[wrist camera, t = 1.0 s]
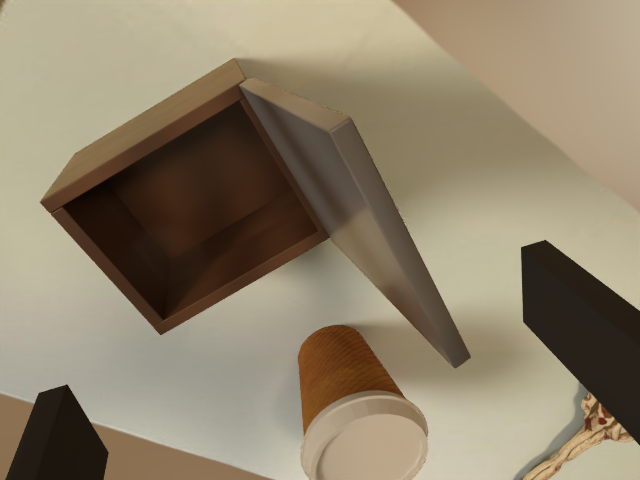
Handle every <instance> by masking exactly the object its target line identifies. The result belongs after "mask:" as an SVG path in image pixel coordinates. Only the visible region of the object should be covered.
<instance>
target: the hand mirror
mask: <svg viewBox="0 0 640 480" xmlns="http://www.w3.org/2000/svg"><path fill="white" fill-rule="evenodd" d="M581 408H582V409H583V410H584V411H585V413H584V420H585V425H584V426H583V428H582V429H581V430H580V431H579V432H578V433H577V434H576V435H575V436H574V437H573V438H571V439H570V440H569V441H568V442H567V443H566V444H565V445H564V446H562V447H561V449H560V451H559V453H558V454H557V455H556V456H555V457H554V458H552V459H550V460H547V461H544V462H543V463H541V464H540V465H538V466H537V467H536V468H534V469H533V470H532V471H530V472H529V473H528V474H527V475H525V476H524V478H523V479H522V480H548V479H549V478H550V477H551V476H553V475H554V474H556V473H557V472H558V471H559V470H560V468H561V465H562V464H563V463H564V462H566V461H569V460H572V459H574V458H576V457H577V456H578V455H579V454H581V453H582V452H583V451H585V450H587V449H588V448H590V447H593V446H595V445H597V444H599V443H601V442H602V441H603V440H607V439H611V440H613V441H618V442H628V441H632V440H634V439H633V438H632V437H631V436H630V434H629V433H628V432H627V431H626V430H625V429H624V428H623V427H622V426H621V425H620V424H619V423H618V422H617V421H616V420H615V419H614V418H613V416H612V415H611V414H610V413H609V412H608V411H607V410H606V409H605V408H604V407H603V406H602V405H601V404H600V403H599V402H598V401H597V399H596V398H595V397H594V396H593V395H592V394H591V393H590V392H588V395H587V396H586V397H584V398H583V400H582V403H581Z"/></svg>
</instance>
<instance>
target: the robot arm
mask: <svg viewBox="0 0 640 480" xmlns="http://www.w3.org/2000/svg"><path fill="white" fill-rule="evenodd" d="M521 262H522V295H523V322H524V323H525V324H526V325H527V326H528V327H529V328H530V330H531V331H532V332H533V333H534V334H535V335H536V336H537V337H538V338H539V339H540V340H541V341H542V342H543V343H544V344H545V345H546V347H547V348H548V349H549V350H550V351H551V352H552V353H553V354H554V355H555V356H556V357H557V358H558V359H559V360H560V361H561V362H562V363H563V365H564V366H565V367H566V368H567V369H568V370H569V371H570V372H571V373H572V374H573V375H574V376H575V377H576V378H577V379H578V380H579V381H580V383H581V384H582V385H583V386H584V387H585V388H586V389H587V390H588V391H589V392H590V393H591V394H592V395H593V396H594V397H595V398H596V399H597V401H598V402H599V403H600V404H601V405H602V406H603V407H604V408H605V409H606V410H607V411H608V412H609V413H610V414H611V415H612V416H613V418H614V419H615V420H616V421H617V422H618V423H619V424H620V425H621V426H622V427H623V428H624V429H625V430H626V431H627V432H628V433H629V434H630V436H631V437H632V438H633V439H634V440H635V441H636V442H637V443H638V444H639V445H640V311H639V310H638V309H636V308H635V307H634V306H632V305H631V304H630V303H628V302H627V301H626V300H624V299H623V298H622V297H620V296H619V295H618V294H616V293H615V292H614V291H613V290H611V289H610V288H609V287H607V286H606V285H605V284H603V283H602V282H601V281H599V280H598V279H597V278H595V277H594V276H593V275H591V274H590V273H589V272H587V271H586V270H585V269H583V268H582V267H581V266H579V265H578V264H577V263H575V262H574V261H573V260H571V259H570V258H569V257H568V256H566V255H565V254H564V253H562V252H561V251H560V250H558V249H557V248H556V247H554V246H553V245H552V244H550V243H549V242H548V241H546V240H544V241H540V242H537V243H534V244H530V245H527V246H524V247H521ZM107 458H108V451H107V449H106V448H105V446H104V444H103V443H102V441H101V439H100V438H99V436H98V434H97V433H96V431H95V429H94V428H93V426H92V424H91V423H90V421H89V419H88V418H87V416H86V414H85V413H84V411H83V409H82V408H81V406H80V404H79V403H78V401H77V399H76V398H75V396H74V394H73V393H72V391H71V389H70V388H69V386H68V385H64V386H60V387H57V388H54V389H50V390H47V391H44V392H41V393H39V394H38V396H37V399H36V402H35V404H34V407H33V409H32V412H31V415H30V417H29V420H28V422H27V425H26V428H25V430H24V433H23V435H22V438H21V441H20V443H19V446H18V448H17V451H16V454H15V456H14V459H13V461H12V464H11V467H10V469H9V472H8V475H7V477H6V480H103V479H104V474H105V469H106V463H107Z"/></svg>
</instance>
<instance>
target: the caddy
mask: <svg viewBox="0 0 640 480" xmlns="http://www.w3.org/2000/svg"><path fill="white" fill-rule="evenodd" d="M246 80H247V78H246V76H245V75H244V73H243V71H242V70H241V68H240V66H239V64H238V63H237V61H236V59H235V58H233V59H231V60H230V61H228V62H226V63H225V64H223V65H221V66H220V67H218V68H216V69H215V70H213V71H211V72H210V73H208V74H206V75H205V76H203V77H201V78H200V79H198V80H196V81H195V82H193V83H191V84H190V85H188V86H186V87H185V88H183V89H181V90H180V91H178V92H176V93H175V94H173V95H171V96H170V97H168V98H167V99H165V100H163V101H162V102H160V103H158V104H157V105H155V106H153V107H152V108H150V109H148V110H147V111H145V112H143V113H142V114H140V115H138V116H137V117H135V118H133V119H132V120H130V121H128V122H127V123H125V124H123V125H122V126H120V127H118V128H117V129H115V130H113V131H112V132H110V133H108V134H107V135H105V136H103V137H102V138H100V139H98V140H97V141H95V142H93V143H92V144H90V145H88V146H87V147H85V148H84V149H82V150H80V151H79V152H77V153H75V154H74V156H73V157H72V158H71V160H70V161H69V162H68V164H67V165H66V167H65V168H64V169H63V171H62V172H61V174H60V175H59V176H58V178H57V179H56V180H55V182H54V183H53V185H52V186H51V187H50V189H49V190H48V191H47V193H46V194H45V196H44V197H43V198H42V200H41V201H40V203H41V204H42V205H43V206H44V207H45V209H46V210H47V211H48V212H49V213H51V215H52V216H53V217H54V218H55V219H56V221H57V222H58V223H59V224H60V225H61V226H62V227H63V228H64V229H65V230H66V232H67V233H68V234H69V235H70V236H71V237H72V238H73V239H74V240H75V241H76V243H77V244H78V245H79V246H80V247H81V248H82V249H83V250H84V251H85V252H86V254H87V255H88V256H89V257H90V258H91V259H92V260H93V261H94V262H95V263H96V265H97V266H98V267H99V268H100V269H101V270H102V271H103V272H104V273H105V274H106V275H107V277H108V278H109V279H110V280H111V281H112V282H113V283H114V284H115V285H116V286H117V288H118V289H119V290H120V291H121V292H122V293H123V294H124V295H125V296H126V297H127V299H128V300H129V301H130V302H131V303H132V304H133V305H134V306H135V307H136V308H137V310H138V311H139V312H140V313H141V314H142V315H143V316H144V317H145V318H146V319H147V321H148V322H149V323H150V324H151V325H152V326H153V327H154V329H155V330H156V331H157V332H158V333H159V334H160V335H162V334H164V333H166V332H167V331H169V330H171V329H173V328H174V327H176V326H178V325H179V324H181V323H183V322H185V321H186V320H188V319H190V318H192V317H193V316H195V315H197V314H199V313H200V312H202V311H204V310H205V309H207V308H209V307H211V306H212V305H214V304H216V303H218V302H219V301H221V300H223V299H225V298H226V297H228V296H230V295H231V294H233V293H235V292H237V291H238V290H240V289H242V288H244V287H245V286H247V285H249V284H251V283H252V282H254V281H256V280H257V279H259V278H261V277H263V276H264V275H266V274H268V273H270V272H271V271H273V270H275V269H277V268H278V267H280V266H282V265H283V264H285V263H287V262H289V261H290V260H292V259H294V258H296V257H297V256H299V255H301V254H303V253H304V252H306V251H308V250H309V249H311V248H313V247H315V246H316V245H318V244H320V243H322V242H323V241H325V240H327V239H329V238H330V237H329V235H328V233H327V232H326V230H325V228H324V227H323V225H322V223H321V222H320V220H319V218H318V217H317V215H316V213H315V212H314V210H313V208H312V207H311V205H310V203H309V202H308V200H307V198H306V197H305V195H304V193H303V192H302V190H301V188H300V187H299V185H298V183H297V182H296V180H295V178H294V177H293V175H292V173H291V172H290V170H289V168H288V167H287V165H286V163H285V162H284V160H283V158H282V157H281V155H280V153H279V152H278V150H277V148H276V147H275V145H274V143H273V142H272V140H271V138H270V137H269V135H268V133H267V132H266V130H265V128H264V127H263V125H262V123H261V122H260V120H259V118H258V117H257V115H256V113H255V112H254V110H253V108H252V107H251V105H250V103H249V101H248V100H247V98H246V96H245V95H244V93H243V91H242V90H241V88H240V86H239V85H240V84H241V83H243V82H244V81H246Z"/></svg>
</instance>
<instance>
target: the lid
mask: <svg viewBox="0 0 640 480" xmlns="http://www.w3.org/2000/svg"><path fill="white" fill-rule="evenodd" d="M239 86H240V88H241V90H242V91H243V93H244V95H245V96H246V98H247V100H248V101H249V103H250V105H251V107H252V108H253V110H254V112H255V113H256V115H257V117H258V118H259V120H260V122H261V123H262V125H263V127H264V128H265V130H266V132H267V133H268V135H269V137H270V138H271V140H272V142H273V143H274V145H275V147H276V148H277V150H278V152H279V153H280V155H281V157H282V158H283V160H284V162H285V163H286V165H287V167H288V168H289V170H290V172H291V173H292V175H293V177H294V178H295V180H296V182H297V183H298V185H299V187H300V188H301V190H302V192H303V193H304V195H305V197H306V198H307V200H308V202H309V203H310V205H311V207H312V208H313V210H314V212H315V213H316V215H317V217H318V218H319V220H320V222H321V223H322V225H323V227H324V228H325V230H326V232H327V233H328V235H329V237H330V238H331V240H332V241H333V242H334V244H335V245H336V246H337V247H338V248H339V249H340V250H341V251H342V252H343V253H344V254H345V255H346V256H347V257H348V258H349V259H350V260H351V261H352V262H353V263H354V264H355V265H356V266H357V267H358V269H359V270H360V271H361V272H362V273H363V274H364V275H365V276H366V277H367V278H368V279H369V280H370V281H371V282H372V283H373V284H374V285H375V286H376V287H377V288H378V289H379V290H380V291H381V292H382V294H383V295H384V296H385V297H386V298H387V299H388V300H389V301H390V302H391V303H392V304H393V305H394V306H395V307H396V308H397V309H398V310H399V311H400V312H401V313H402V314H403V315H404V316H405V318H406V319H407V320H408V321H409V322H410V323H411V324H412V325H413V326H414V327H415V328H416V329H417V330H418V331H419V332H420V333H421V334H422V335H423V336H424V337H425V338H426V339H427V340H428V341H429V343H430V344H431V345H432V346H433V347H434V348H435V349H436V350H437V351H438V352H439V353H440V354H441V355H442V356H443V357H444V358H445V359H446V360H447V361H448V362H449V363H450V364H451V365H452V366H453V367H454V368H457V367H459V366H460V365H461V364H463V363H464V362H466V361H467V360H468V359H470V358H471V356H470V354H469V352H468V350H467V348H466V346H465V344H464V342H463V340H462V338H461V336H460V334H459V332H458V330H457V328H456V326H455V324H454V322H453V320H452V318H451V316H450V314H449V312H448V310H447V308H446V306H445V304H444V302H443V300H442V298H441V296H440V294H439V292H438V290H437V288H436V286H435V284H434V282H433V280H432V278H431V276H430V274H429V272H428V270H427V268H426V266H425V264H424V262H423V260H422V258H421V256H420V254H419V252H418V250H417V248H416V246H415V244H414V242H413V240H412V238H411V236H410V234H409V232H408V230H407V228H406V226H405V224H404V222H403V220H402V218H401V216H400V214H399V212H398V210H397V208H396V206H395V204H394V202H393V200H392V198H391V196H390V194H389V192H388V190H387V188H386V186H385V184H384V182H383V180H382V178H381V176H380V174H379V172H378V170H377V168H376V166H375V164H374V162H373V160H372V158H371V156H370V154H369V152H368V150H367V148H366V146H365V144H364V142H363V140H362V138H361V136H360V134H359V132H358V130H357V128H356V126H355V124H354V122H353V120H352V118H350V117H348V116H346V115H343V114H341V113H338V112H336V111H334V110H331V109H329V108H326V107H324V106H321V105H319V104H316V103H314V102H311V101H309V100H306V99H304V98H302V97H299V96H297V95H294V94H292V93H289V92H287V91H284V90H282V89H279V88H277V87H274V86H272V85H269V84H267V83H265V82H262V81H260V80H257V79H255V78H252V77H251V78H249V79H247V80H246V81H244V82H243V83H241V84H240V85H239Z"/></svg>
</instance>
